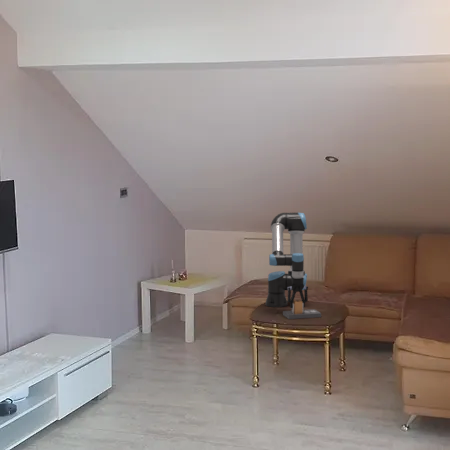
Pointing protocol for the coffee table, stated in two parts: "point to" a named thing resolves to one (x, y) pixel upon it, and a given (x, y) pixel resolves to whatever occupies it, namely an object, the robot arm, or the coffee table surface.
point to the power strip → (305, 314)
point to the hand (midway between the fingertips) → (297, 312)
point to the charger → (297, 307)
